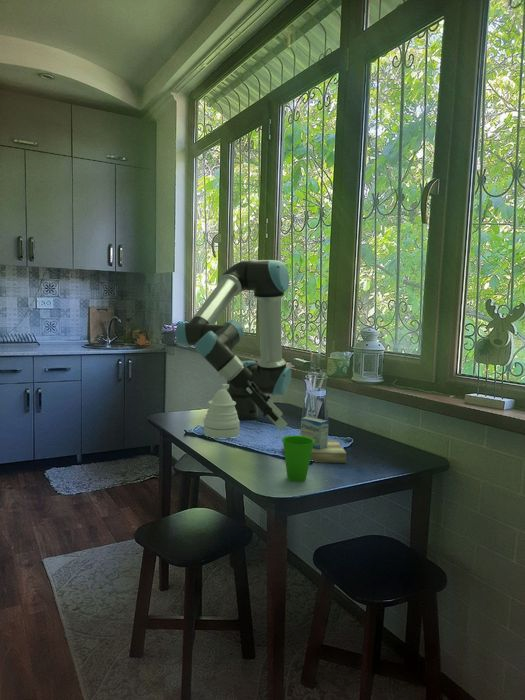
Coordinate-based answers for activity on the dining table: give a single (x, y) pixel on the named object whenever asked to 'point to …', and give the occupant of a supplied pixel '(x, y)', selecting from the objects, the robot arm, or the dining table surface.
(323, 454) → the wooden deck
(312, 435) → the medicine box
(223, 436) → the honey pot
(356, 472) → the dining table surface
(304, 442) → the cup
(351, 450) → the dining table surface
